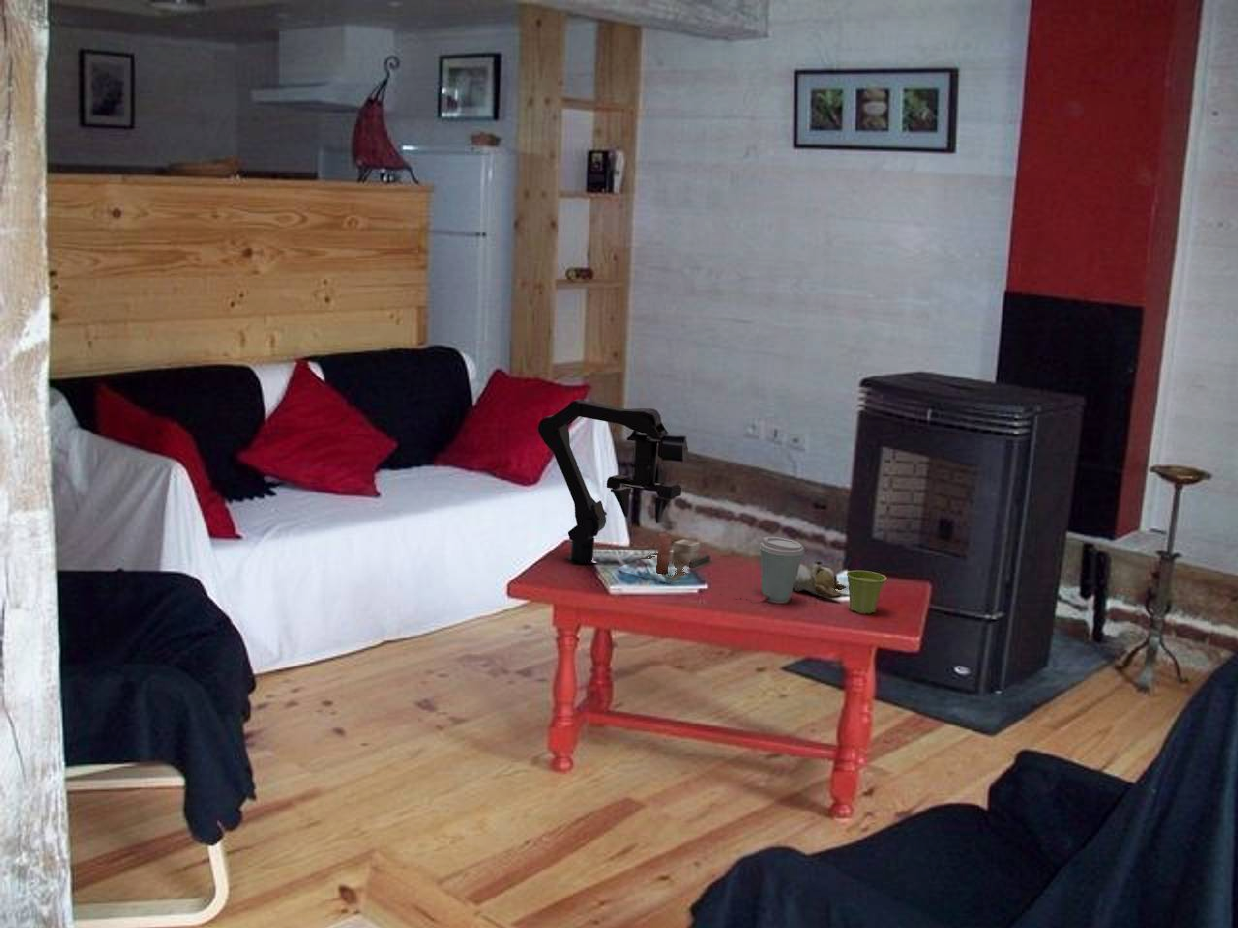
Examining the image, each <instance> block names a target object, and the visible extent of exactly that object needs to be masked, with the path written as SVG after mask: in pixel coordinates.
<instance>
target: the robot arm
mask: <svg viewBox="0 0 1238 928" xmlns="http://www.w3.org/2000/svg"><path fill="white" fill-rule="evenodd" d="M579 417H580V418H585V419H591V420H596V421H602V422H606V423H612V424H619V425H620V426H624V427H625V428H627V429H629V430H630V431H631V430H632V432H631V434H630V435H629V436H627V437H626V440H627V441H632V442H634V450H633V451H634V452H633V462H631V463H630V468H632V478H631V476H630V475H629V476H628V475H623V474H616V475H612V476H611V475H610V476H609V477H608V478H607V480H606V488H607V489H610V492H611V493H613V495H614V496H615V499H616V501H617V502H618V505H619V507H620V509H621V512H622V515H623V518H628V516H629V509H630V508H629V507H630V494H631V491H632V489H636V490H642V491H647V492H648V491H649V492H653V493H656V495H657V496H656V497H654V513H655V514H654V515H655V516H654V517H655V519H654V520H655V523H656V524H658V523H660V521H661V519H662V517H663V514H664V512H665V509H666V508H667V506H668V504H669V503H670V501H671V500H674V499H676V498H677V497H679V496H682V495H681V494H682V493H681V492H682V488H681V486H680V484H677V483H674V482H673V483H671V482H667V477H668V472H667V471H665V470H664V469H661V468H660V463H659V462H657V458H658V459H661V461H662V462H670V463H680V464H685V463H686V461H687V459H688V453H689V447H688V442H687V435H685V434H684V435H681V434H680V435H675V434H669V432H668V431H667V429H666V428H665V426H664V424H663V423H662V417H661V415H660V413H659V411H658V410H657V409H655V408H651V407H647V408H646V407H640V408H639V407H637V408H623V407H619V406H613V405H608V404H602V403H597V402H596V403H595V402H592V401H586V400H583V399H579V398H578V399H575V400H573V401H570V402H569V404H568V405H565V407H564V408H562V409H561V410H559V411H558V412H556V413H553V414H552V415H548V416H546V417H543V418H542V419H540V421H539V422H538V425H537V433H538V435H539V437H540V438H541V440H542V441H543V443H544V444H545V445H546V447H547V448H548V449H550V451H551V452H552V453H553V455H554V457H555V460H556V463H557V465H558V467H559V469H560V473H561V474H562V477H563V479H564V482H565V484H566V486H567V489H568V491H569V494H570V496H571V498H572V501H573V504H574V516H575V521H576V525H575V526H574V527H572V528H571V529H569V530H568V531H567V536H568V539H569V541H571V545H570V546H571V547H570V555H566V556H565V558H566V560H568V561H569V562H570V563H572V564H573V565H592V564H591V563H590V562H591V560H592V558H593V557H594V546H595V537H596V536H597V535H598V533H599V532H600V531H601V530H603V529H604V528H605V526H606V523H607V515H608V514H607V512H606V511H605V509H604V505H603V502H602V500H598V501H597V502H596V501H595V499H594V498H593V497H592V496H591V494H590V492H589V490H588V486H587V484H586V482H585V479H584V476H583V474H582V472H581V469H580V467H579V465H578V462H577V461H576V458H575V455H574V453H573V450H572V447H571V445H570V444H571V443H570V431H569V427H568V426H569V425H570V424H572V423H573V422H575V421H576V420H577V419H578V418H579ZM593 559H594V558H593Z"/></svg>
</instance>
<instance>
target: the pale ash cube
mask: <svg viewBox="0 0 1238 928" xmlns="http://www.w3.org/2000/svg"><path fill="white" fill-rule="evenodd" d="M700 549H701V542H697V541H693V540H689V539H683V538H682V539H680V540H677V541H674V543H673V562H677V563H682V564H687V565H689V562H690V561H692V560H695V559H697V558H700Z"/></svg>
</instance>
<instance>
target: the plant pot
mask: <svg viewBox="0 0 1238 928" xmlns="http://www.w3.org/2000/svg"><path fill="white" fill-rule="evenodd" d="M846 576H847V581H848V587H849V590H848V591H849V609H850V610H851V611H855V612H856V613H860V614H866V613H868V614H871V613H873V612H874V613H875V612H876V610H877V606H878V602H879V598H880V595H881V592H882V588H883V586H884V584H885V581H887V577H886V576H885V575H884V574H881V573H878V572H873V571H867V570H851V571H847V572H846Z"/></svg>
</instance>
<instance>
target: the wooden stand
mask: <svg viewBox="0 0 1238 928" xmlns="http://www.w3.org/2000/svg"><path fill="white" fill-rule="evenodd" d="M671 541H672V534H670V533H667V532H660V533H659V534H658V543H657V545H658V546H657V552H658V553H656V552H654V553H651V554H648V555H645V556H643V557H640V558H637V560H640V559H651V558H652V557H655V556H651V555H657V565H656V573H657V574H662V575H663V574H664V575H666V574H668V566H669V561H672V564H673V552H672V551H671V544H672V543H671ZM644 557H645V558H644ZM648 557H649V558H648ZM710 558H711V555H710V554H705V555H703V556H699V558H697V559H695V560H692V561H690V562H689V565H687V564H682V563H677V562H674V566H675V568H677V572H676V571H675V572H676V573H677V574H676V573H675V575H674V576H673V575H672V576H673V577H672V576H671V575H670V576H671V577H672V578H671V577H670V576H669V575H668V576H669V577H668V578H667V579H668V580H672V581H674V580H677V579H679V578H682V577H684V576H687V575H688V574H687V573H685V572H682V571H683V570H684V569H683V567H684V566H687V567H689V568H690V569H692V570H693V572H697V571H698V570H700V569H703V568H705V567H707V566H710V565H712V564H714V563H716V561H714V560H710ZM682 569H683V570H682ZM693 572H692V573H693ZM684 573H685V574H684Z"/></svg>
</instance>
